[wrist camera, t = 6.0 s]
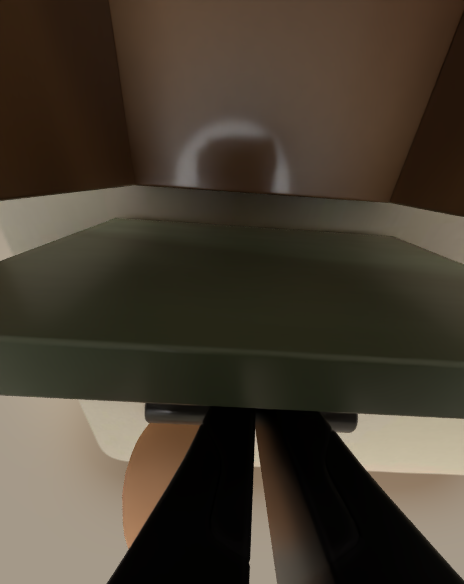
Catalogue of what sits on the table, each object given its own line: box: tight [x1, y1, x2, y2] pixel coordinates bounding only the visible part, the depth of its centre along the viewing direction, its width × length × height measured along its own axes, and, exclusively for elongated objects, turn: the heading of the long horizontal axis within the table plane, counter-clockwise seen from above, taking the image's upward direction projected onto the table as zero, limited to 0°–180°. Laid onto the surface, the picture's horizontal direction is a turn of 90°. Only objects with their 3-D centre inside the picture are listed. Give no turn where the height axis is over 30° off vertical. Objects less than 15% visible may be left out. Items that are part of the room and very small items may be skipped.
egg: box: [122, 423, 200, 549], centre depth 13 cm, size 7×7×8 cm
